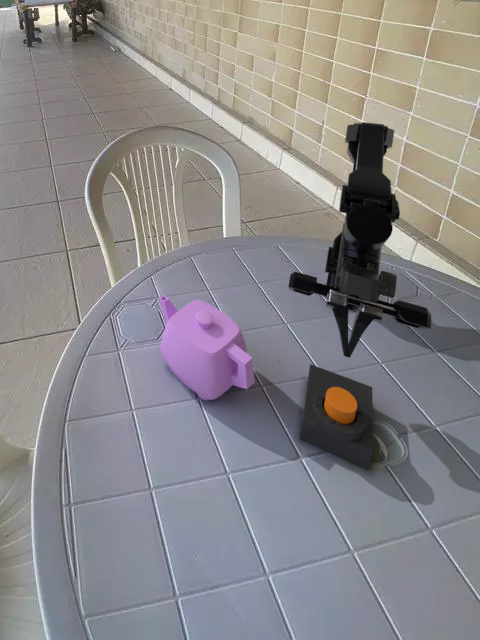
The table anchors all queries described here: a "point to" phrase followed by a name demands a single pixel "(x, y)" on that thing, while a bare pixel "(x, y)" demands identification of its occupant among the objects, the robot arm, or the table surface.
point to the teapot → (205, 349)
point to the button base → (332, 435)
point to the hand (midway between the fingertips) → (346, 356)
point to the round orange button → (340, 405)
